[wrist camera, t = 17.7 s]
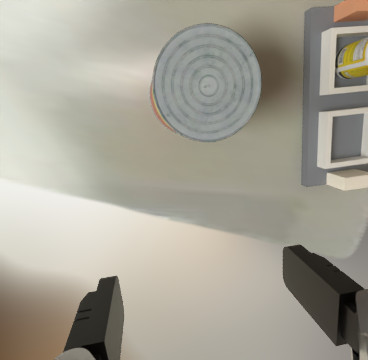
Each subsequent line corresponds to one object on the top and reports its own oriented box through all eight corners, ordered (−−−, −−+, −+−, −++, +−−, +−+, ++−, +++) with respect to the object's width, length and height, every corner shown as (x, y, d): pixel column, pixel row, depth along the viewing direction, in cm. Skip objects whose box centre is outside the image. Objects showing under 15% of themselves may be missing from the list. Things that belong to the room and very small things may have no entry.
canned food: (191, 150, 39) (211, 163, 28) (133, 98, 36) (128, 89, 25) (241, 93, 38) (282, 82, 27) (185, 35, 35) (206, -5, 24)
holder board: (304, 12, 37) (331, -6, 32) (378, 8, 38) (416, -10, 33) (301, 184, 43) (323, 193, 38) (364, 175, 45) (394, 183, 40)
